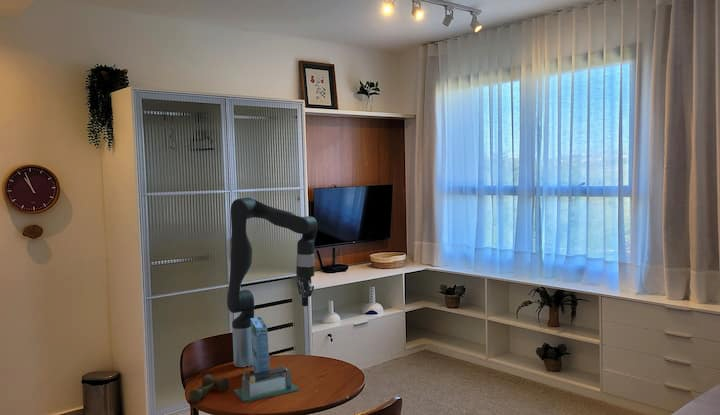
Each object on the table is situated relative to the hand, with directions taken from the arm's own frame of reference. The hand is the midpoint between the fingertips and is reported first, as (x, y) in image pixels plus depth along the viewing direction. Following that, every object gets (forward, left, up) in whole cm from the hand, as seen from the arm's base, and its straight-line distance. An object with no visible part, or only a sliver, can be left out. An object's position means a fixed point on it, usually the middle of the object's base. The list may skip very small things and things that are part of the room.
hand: (305, 305), depth 235 cm
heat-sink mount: (+8, -21, -29) cm, 37 cm away
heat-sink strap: (+8, -20, -23) cm, 31 cm away
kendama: (-2, -40, -30) cm, 50 cm away
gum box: (-10, -17, -29) cm, 35 cm away
